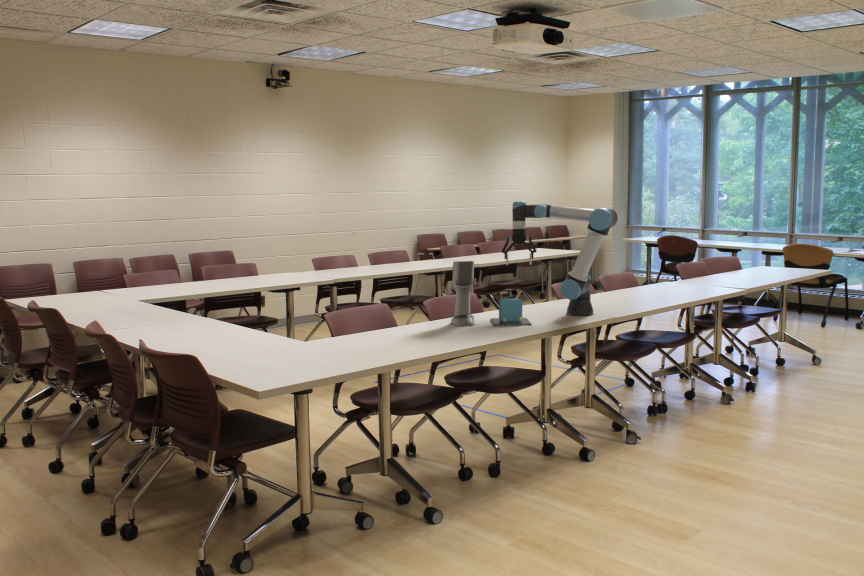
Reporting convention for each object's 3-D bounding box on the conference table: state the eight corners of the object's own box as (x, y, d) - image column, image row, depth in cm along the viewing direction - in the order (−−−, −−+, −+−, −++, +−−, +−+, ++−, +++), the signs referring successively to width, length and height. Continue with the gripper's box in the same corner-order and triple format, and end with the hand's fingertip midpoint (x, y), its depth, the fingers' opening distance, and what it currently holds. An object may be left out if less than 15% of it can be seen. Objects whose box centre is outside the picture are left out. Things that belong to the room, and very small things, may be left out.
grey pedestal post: (455, 326, 389) (454, 261, 385) (450, 322, 402) (449, 259, 397) (476, 325, 391) (476, 260, 387) (470, 321, 404) (470, 258, 399)
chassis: (526, 319, 408) (526, 312, 408) (531, 325, 390) (531, 318, 389) (490, 320, 408) (490, 313, 407) (494, 326, 389) (494, 318, 388)
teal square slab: (520, 319, 401) (520, 298, 400) (522, 321, 397) (522, 299, 395) (498, 320, 399) (498, 299, 398) (500, 322, 395) (500, 300, 393)
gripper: (539, 227, 426) (539, 263, 429) (496, 228, 426) (496, 264, 428) (541, 228, 419) (541, 265, 422) (498, 228, 418) (498, 265, 421)
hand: (518, 264), depth 425 cm, fingers open, 13 cm apart
